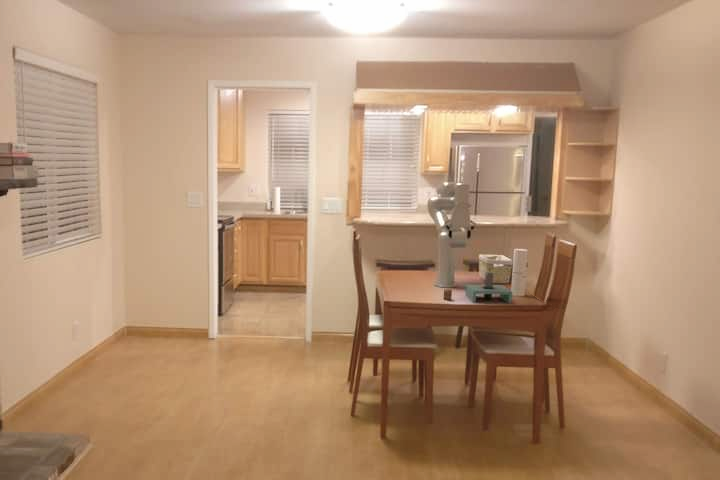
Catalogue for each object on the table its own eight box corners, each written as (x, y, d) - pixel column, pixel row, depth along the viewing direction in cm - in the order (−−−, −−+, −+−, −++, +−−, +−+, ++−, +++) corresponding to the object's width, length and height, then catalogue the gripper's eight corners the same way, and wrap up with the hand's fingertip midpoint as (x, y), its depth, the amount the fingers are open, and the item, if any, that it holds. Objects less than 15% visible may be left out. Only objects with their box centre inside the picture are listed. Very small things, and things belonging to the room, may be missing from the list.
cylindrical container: (509, 293, 311) (512, 248, 308) (521, 293, 311) (524, 248, 308) (513, 296, 304) (516, 250, 301) (526, 296, 304) (529, 250, 301)
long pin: (483, 298, 295) (484, 272, 294) (490, 298, 296) (492, 272, 294) (485, 300, 291) (486, 273, 290) (492, 300, 292) (494, 273, 290)
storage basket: (476, 276, 361) (478, 253, 359) (501, 277, 361) (503, 254, 359) (485, 283, 337) (486, 259, 335) (512, 284, 337) (513, 260, 335)
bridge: (465, 295, 301) (466, 284, 300) (502, 296, 302) (503, 285, 301) (472, 302, 285) (473, 290, 284) (511, 303, 286) (512, 291, 285)
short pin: (442, 298, 292) (443, 289, 291) (450, 298, 292) (450, 289, 291) (444, 300, 288) (444, 290, 287) (452, 300, 288) (452, 290, 287)
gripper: (475, 206, 304) (473, 237, 306) (443, 205, 303) (442, 236, 306) (478, 207, 297) (476, 239, 299) (446, 206, 296) (444, 238, 298)
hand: (459, 238), depth 302 cm, fingers open, 9 cm apart
